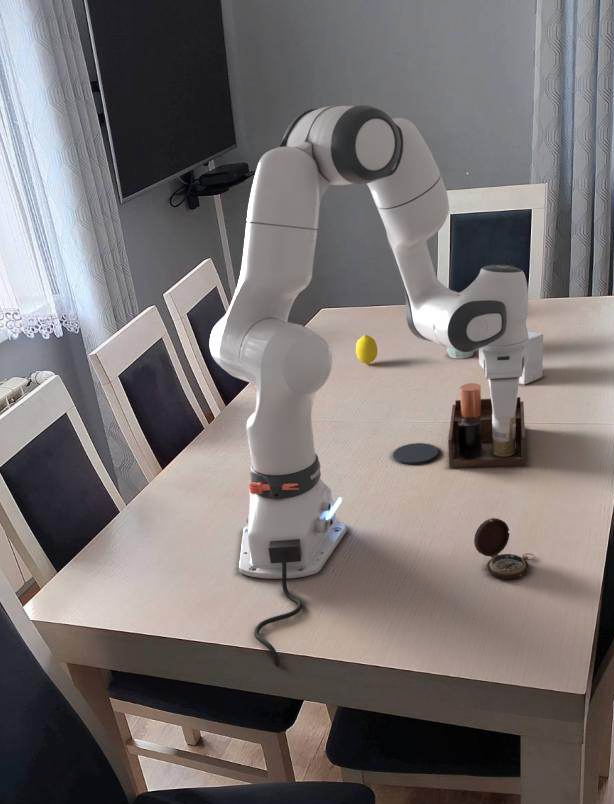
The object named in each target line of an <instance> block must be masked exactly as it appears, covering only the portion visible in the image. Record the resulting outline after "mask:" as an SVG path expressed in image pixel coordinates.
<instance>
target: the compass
mask: <svg viewBox="0 0 614 804" xmlns="http://www.w3.org/2000/svg"><path fill="white" fill-rule="evenodd" d="M509 531H510V529H509V526H508V524H507V523H506V522H505V521H504V520H502V519H500V518H497V517H492V518H488V519H486V520H484V521H483V522H482V523H481V524H479V526H478V528H477V529H476V531H475V533H474V539H473V542H474V543H473V544H474V547H475V550H476V551H477V552H478V553H480V554H481V555H483V556H485V557H490V558H491V559H489V560H488V561H487V564H486V568H487V572H488V573H489V574H490V575H492V577H495V578H498V579H501V580H502V579H503V580H514V579H518V578H521V577H522V576H524V575H526V574H527V573H528V571H529V563H528V561H532V560H534V559H535V558H536V555H535V554H534V553H529V555H530V556H533V557H532V558H529V557H528V556H527V555H528V553H524V554H523V555H522V557H521V556H519V555H517V554H512V553H503V554H500V553H501V552H503V550H504V549H505V548H506V546H507V545H508V542H509V539H510V533H509Z"/></svg>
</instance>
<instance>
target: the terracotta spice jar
mask: <svg viewBox="0 0 614 804" xmlns="http://www.w3.org/2000/svg"><path fill="white" fill-rule="evenodd" d="M459 393H460V395H459V396H460V398H459V399H460V400H461V416H462V417H463V418H467V417H476V418H477V417H479V416H481V399H482V386H481V384H479V383H475V382H474V383H472V382H471V383H470V382H469V383H464V384H462V385H461V386H460V387H459Z"/></svg>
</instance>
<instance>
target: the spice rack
mask: <svg viewBox="0 0 614 804" xmlns="http://www.w3.org/2000/svg"><path fill="white" fill-rule="evenodd" d="M454 403H455V404H452V407H451V415H450V424H449V429H448V431H449V432H448V438H447V442H448V443H447V444H448V465H449V469H461V468H462V469H463V468H465V469H467V468H495V467H526V428H525V427H526V425H525V407H524V406H525V405H524V404H525V403H524V401H521V396H517V404H516V412H515V418H516V439H515V440H516V442H520V455H521V456H517V457H515V456H514V457H513V456H512V457H487V458H486V457H485V458H472V459H467V458H458V459H457V458H455V450H456V444H459V434H458V421H459V420H460V419H463V417H462V416H461V399H455V402H454ZM477 418H479V419H481V429H482V443H493V435H492V402H491V397H490V398H481V416H479V417H477ZM454 458H455V459H454Z"/></svg>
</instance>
